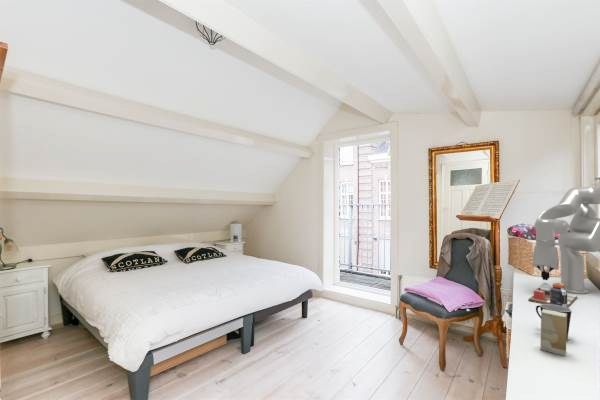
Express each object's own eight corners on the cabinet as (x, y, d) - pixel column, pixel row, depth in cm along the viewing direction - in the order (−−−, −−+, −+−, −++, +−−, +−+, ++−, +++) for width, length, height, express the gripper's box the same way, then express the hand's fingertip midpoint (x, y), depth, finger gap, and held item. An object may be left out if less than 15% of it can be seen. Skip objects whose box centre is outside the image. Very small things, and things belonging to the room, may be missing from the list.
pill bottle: (570, 312, 135) (570, 285, 135) (555, 311, 136) (554, 285, 136) (562, 307, 141) (561, 282, 141) (547, 306, 142) (546, 281, 142)
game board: (541, 292, 166) (540, 286, 166) (577, 298, 155) (577, 292, 155) (528, 301, 150) (528, 294, 150) (567, 308, 139) (567, 302, 139)
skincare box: (540, 349, 100) (539, 311, 100) (542, 345, 103) (541, 308, 103) (566, 356, 95) (566, 316, 95) (567, 352, 98) (567, 313, 98)
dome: (541, 289, 163) (541, 281, 163) (552, 291, 159) (552, 283, 159) (538, 291, 160) (538, 283, 160) (550, 293, 156) (550, 284, 156)
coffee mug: (576, 343, 105) (576, 313, 105) (545, 339, 107) (545, 310, 108) (561, 330, 115) (561, 303, 116) (533, 326, 118) (533, 300, 119)
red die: (535, 297, 154) (535, 288, 154) (545, 298, 151) (544, 290, 151) (533, 298, 151) (533, 290, 151) (543, 300, 148) (543, 291, 149)
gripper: (565, 244, 157) (565, 281, 156) (529, 241, 168) (529, 276, 168) (562, 245, 152) (562, 283, 151) (525, 242, 163) (525, 278, 163)
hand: (545, 279), depth 160 cm, fingers closed
